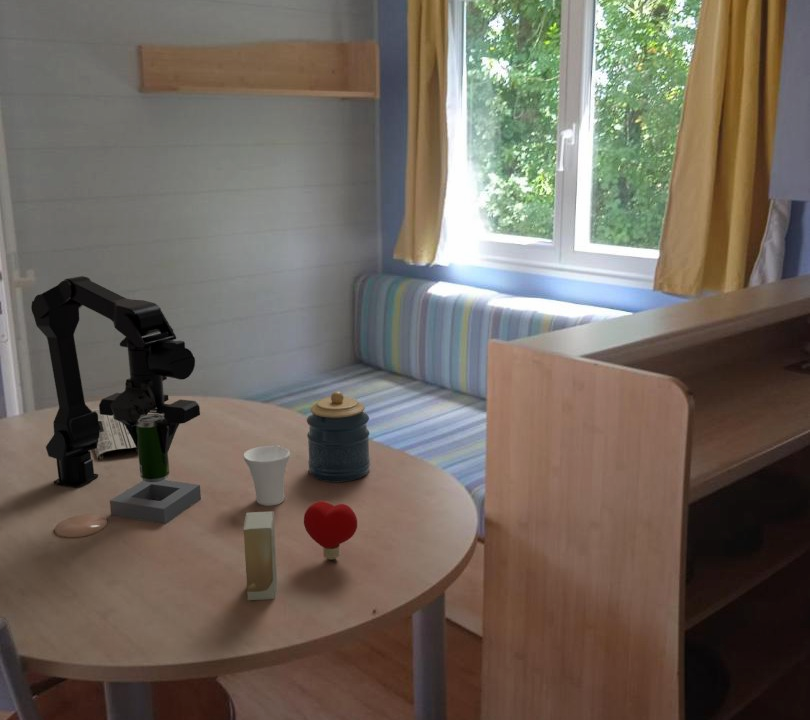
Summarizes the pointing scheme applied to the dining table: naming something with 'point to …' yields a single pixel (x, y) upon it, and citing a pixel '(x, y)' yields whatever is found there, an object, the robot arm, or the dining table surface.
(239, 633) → the dining table surface
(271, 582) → the skincare box
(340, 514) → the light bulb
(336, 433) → the canister
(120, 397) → the robot arm
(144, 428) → the beer can
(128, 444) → the newspaper
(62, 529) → the coaster
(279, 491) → the cup
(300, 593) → the dining table surface
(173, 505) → the square frame
